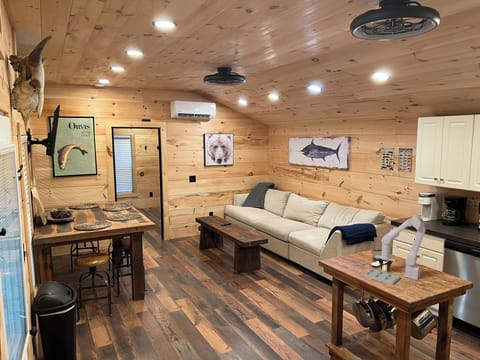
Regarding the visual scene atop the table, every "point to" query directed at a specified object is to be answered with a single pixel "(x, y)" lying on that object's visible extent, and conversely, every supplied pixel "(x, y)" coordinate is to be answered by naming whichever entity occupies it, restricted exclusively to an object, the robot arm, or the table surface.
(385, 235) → the robot arm
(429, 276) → the table surface
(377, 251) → the food container
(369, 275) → the grey compartment tray
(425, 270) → the table surface
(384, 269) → the egg
